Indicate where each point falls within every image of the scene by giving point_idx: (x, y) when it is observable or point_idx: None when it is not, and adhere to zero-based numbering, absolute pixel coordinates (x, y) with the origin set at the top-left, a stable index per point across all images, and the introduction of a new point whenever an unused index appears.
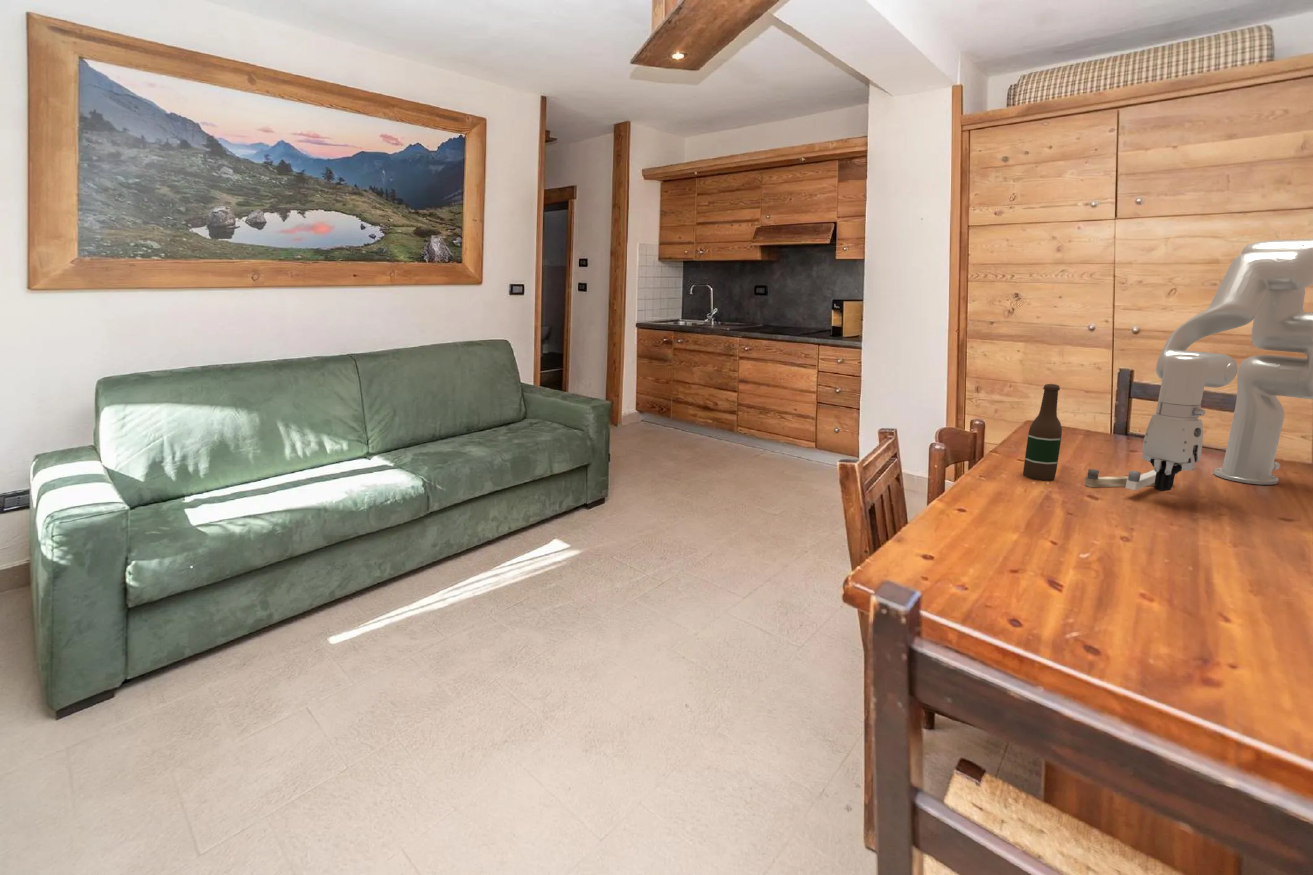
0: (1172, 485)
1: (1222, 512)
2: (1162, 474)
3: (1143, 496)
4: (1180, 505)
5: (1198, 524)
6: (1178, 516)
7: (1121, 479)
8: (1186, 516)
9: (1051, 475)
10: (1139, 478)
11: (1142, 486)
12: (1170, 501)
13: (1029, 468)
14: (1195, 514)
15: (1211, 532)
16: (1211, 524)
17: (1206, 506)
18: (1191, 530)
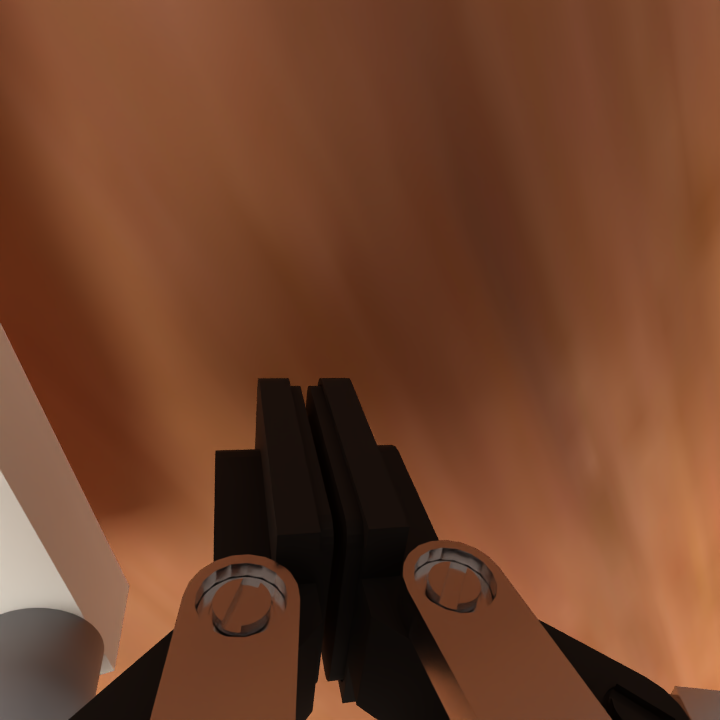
0: (396, 454)
1: (705, 123)
2: (348, 696)
3: (73, 331)
4: (415, 277)
5: (641, 552)
6: (523, 535)
7: None
8: (553, 491)
9: None
10: (91, 671)
11: (52, 446)
12: (300, 237)
13: None
14: (576, 397)
15: (711, 593)
16: (691, 489)
17: (565, 48)
18: (639, 648)
